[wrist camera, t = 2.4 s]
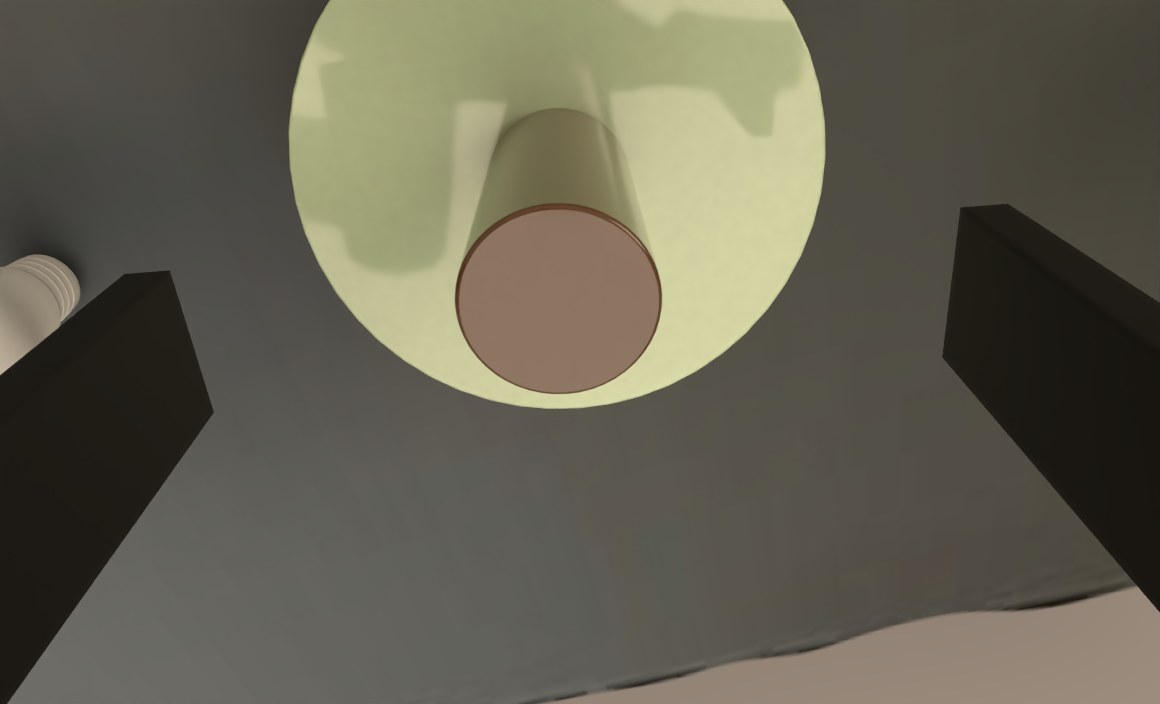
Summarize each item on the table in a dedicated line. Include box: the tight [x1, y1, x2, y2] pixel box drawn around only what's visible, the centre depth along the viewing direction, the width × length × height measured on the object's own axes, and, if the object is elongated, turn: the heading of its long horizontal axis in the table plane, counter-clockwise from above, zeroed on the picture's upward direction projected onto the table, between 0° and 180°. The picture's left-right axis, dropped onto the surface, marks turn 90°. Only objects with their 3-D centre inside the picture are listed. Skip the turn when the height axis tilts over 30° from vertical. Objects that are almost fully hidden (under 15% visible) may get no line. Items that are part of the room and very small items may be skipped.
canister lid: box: [288, 0, 825, 409], centre depth 19 cm, size 14×14×9 cm
